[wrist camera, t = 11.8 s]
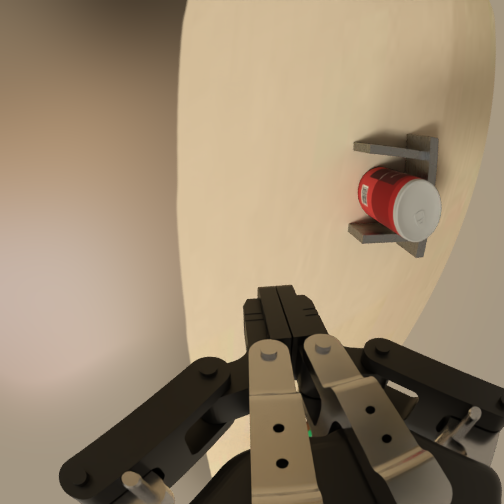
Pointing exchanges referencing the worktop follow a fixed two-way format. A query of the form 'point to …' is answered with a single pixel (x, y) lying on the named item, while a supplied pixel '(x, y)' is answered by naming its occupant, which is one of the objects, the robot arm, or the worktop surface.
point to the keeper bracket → (417, 164)
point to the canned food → (400, 202)
